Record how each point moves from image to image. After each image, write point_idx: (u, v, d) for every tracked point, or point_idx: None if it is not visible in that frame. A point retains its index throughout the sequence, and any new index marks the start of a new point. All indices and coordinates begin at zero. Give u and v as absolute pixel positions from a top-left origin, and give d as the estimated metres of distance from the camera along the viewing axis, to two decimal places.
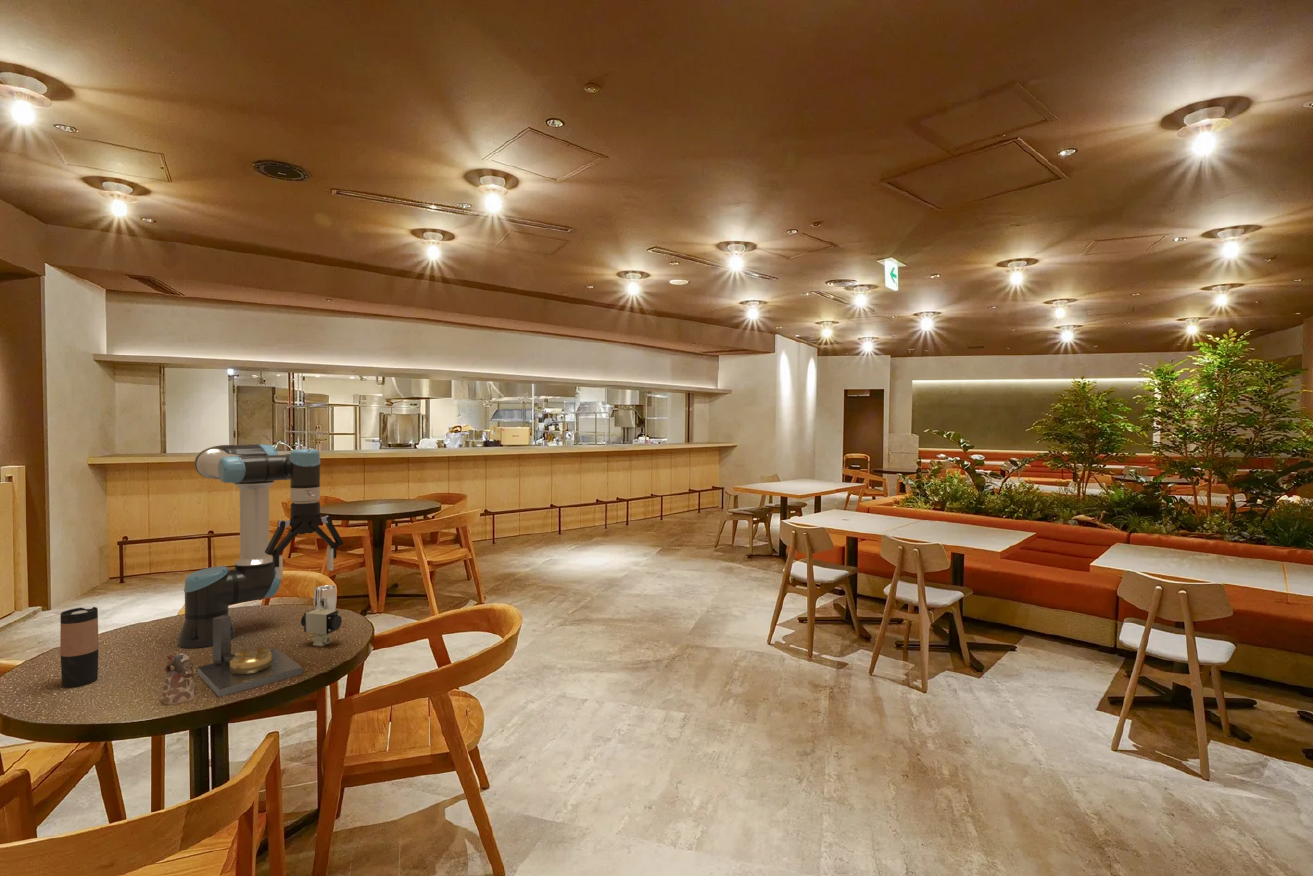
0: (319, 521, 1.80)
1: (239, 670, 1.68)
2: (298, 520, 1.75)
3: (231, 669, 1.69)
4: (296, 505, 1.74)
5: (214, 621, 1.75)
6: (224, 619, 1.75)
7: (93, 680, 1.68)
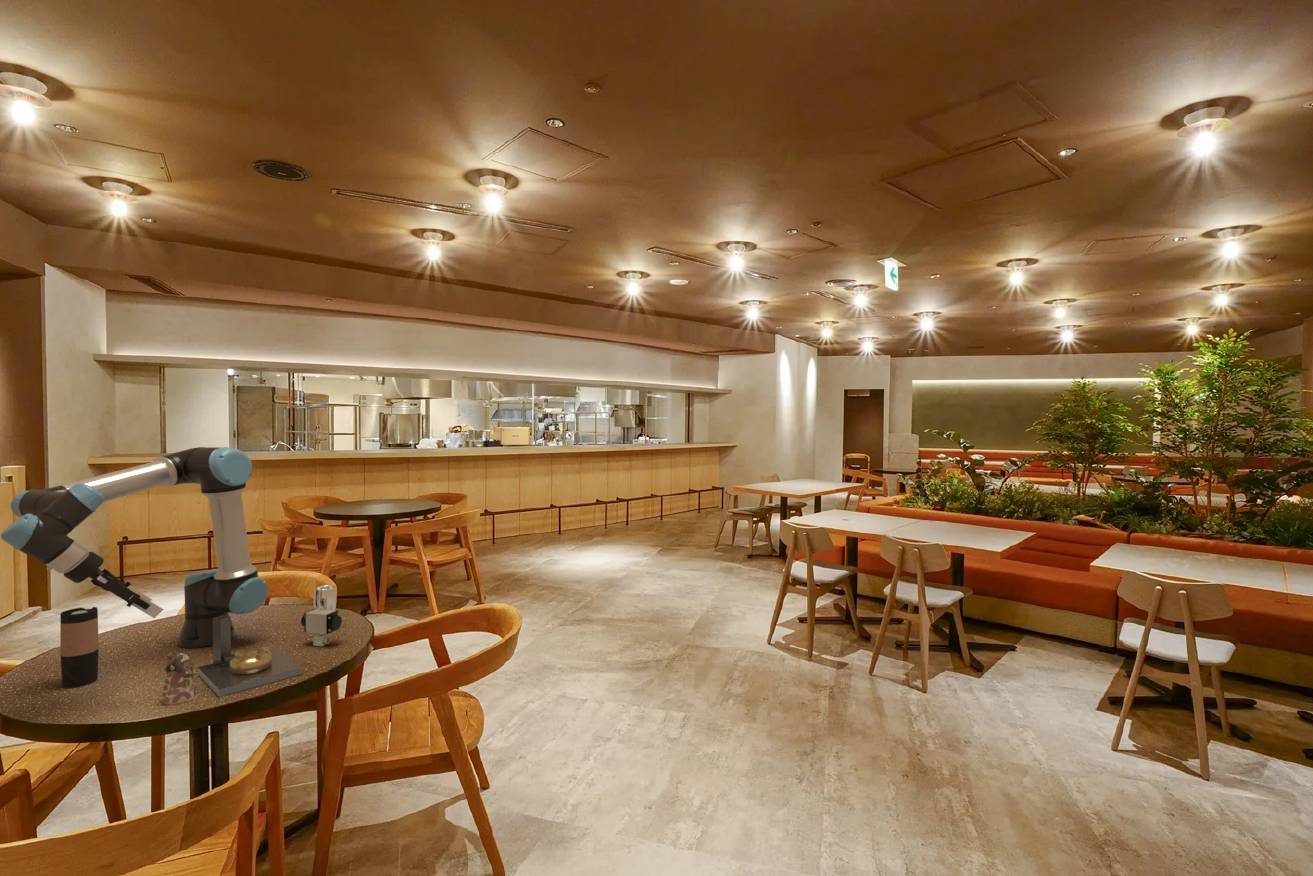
0: None
1: (239, 670, 1.68)
2: None
3: (231, 669, 1.69)
4: None
5: (214, 621, 1.75)
6: (224, 619, 1.75)
7: (93, 680, 1.68)
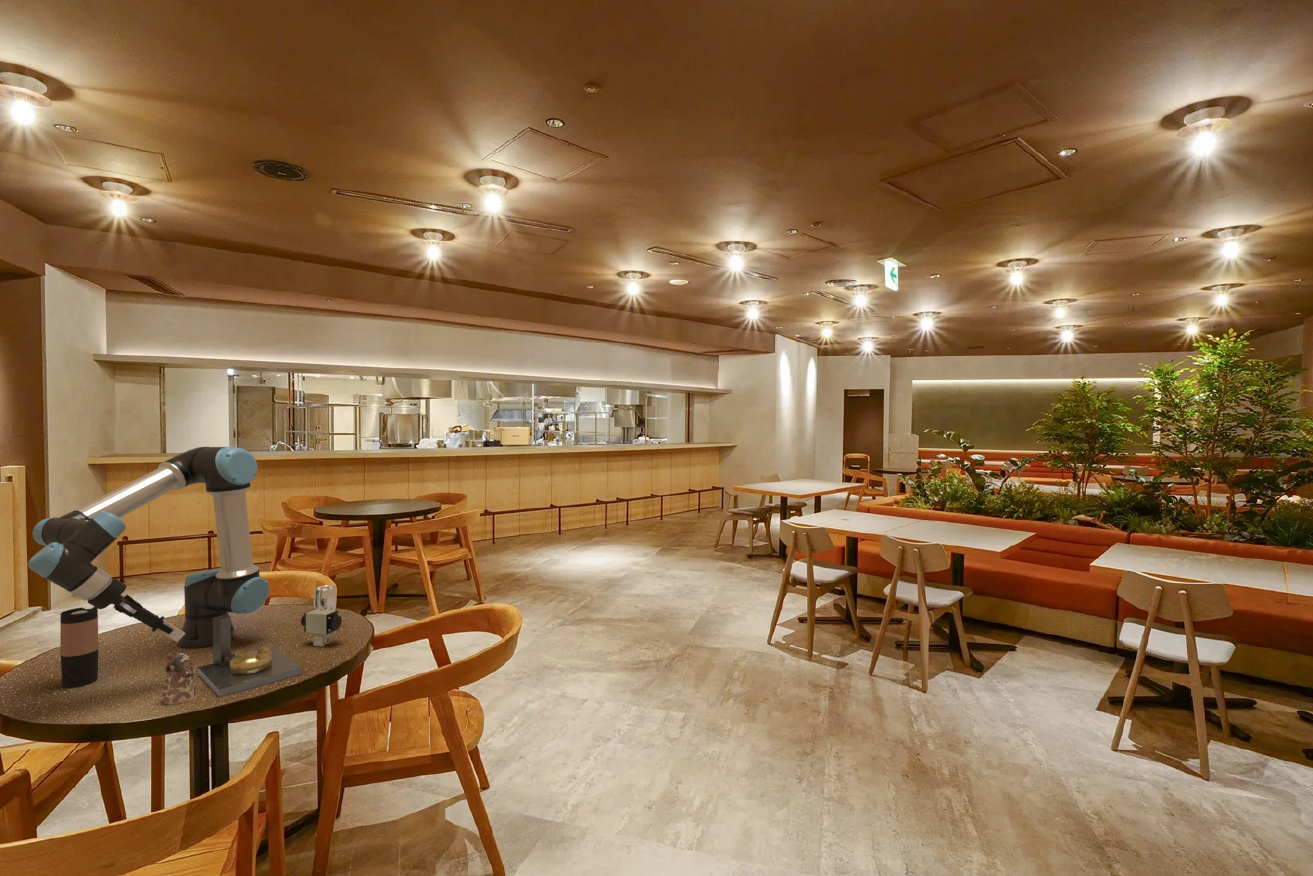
0: (120, 608, 1.57)
1: (239, 670, 1.68)
2: None
3: (231, 669, 1.69)
4: None
5: (214, 621, 1.75)
6: (224, 619, 1.75)
7: (93, 680, 1.68)
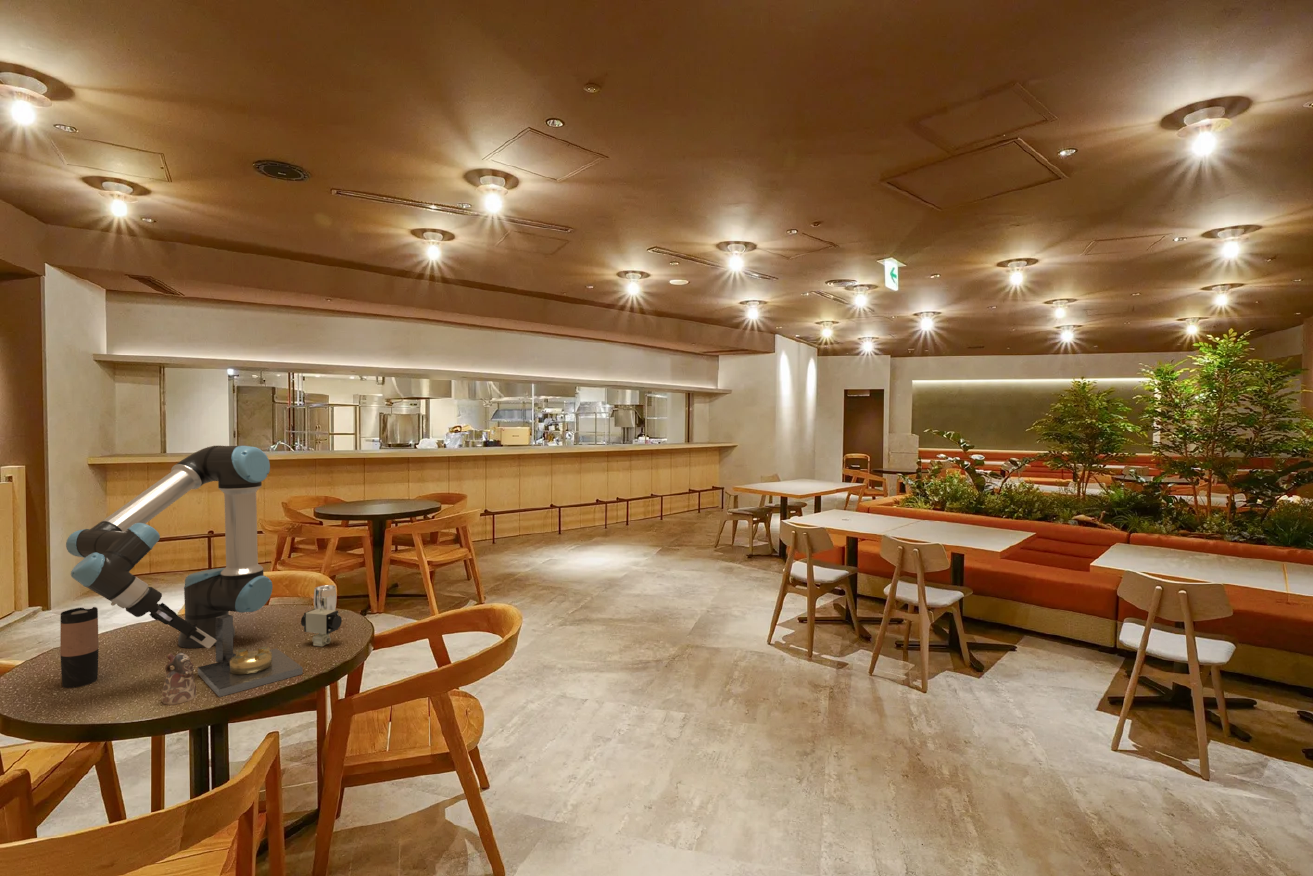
0: (156, 616, 1.62)
1: (238, 670, 1.69)
2: None
3: (231, 669, 1.70)
4: None
5: (216, 620, 1.76)
6: (226, 618, 1.76)
7: (93, 680, 1.68)
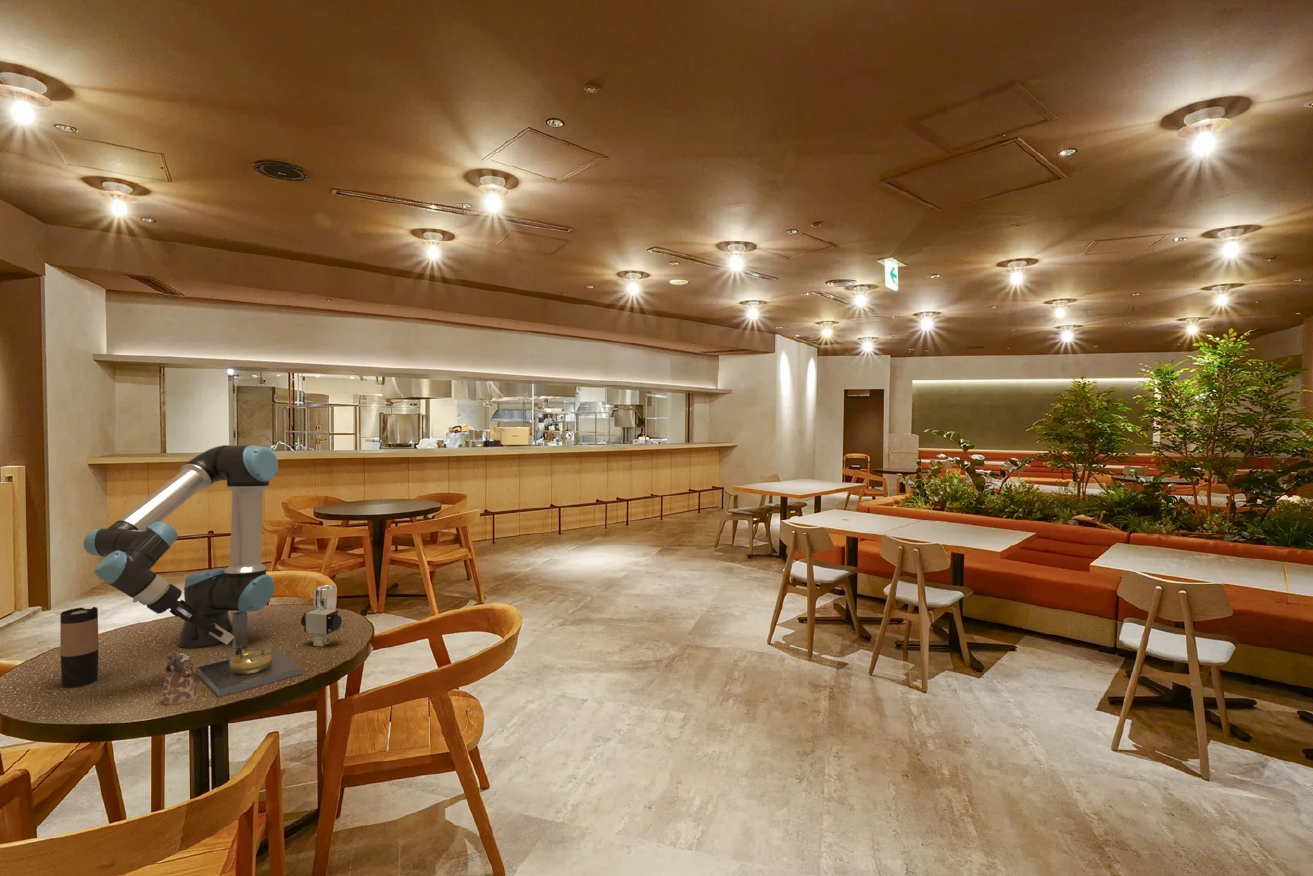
0: (177, 612, 1.66)
1: (232, 670, 1.69)
2: None
3: None
4: None
5: (233, 616, 1.80)
6: (239, 615, 1.79)
7: (93, 680, 1.68)
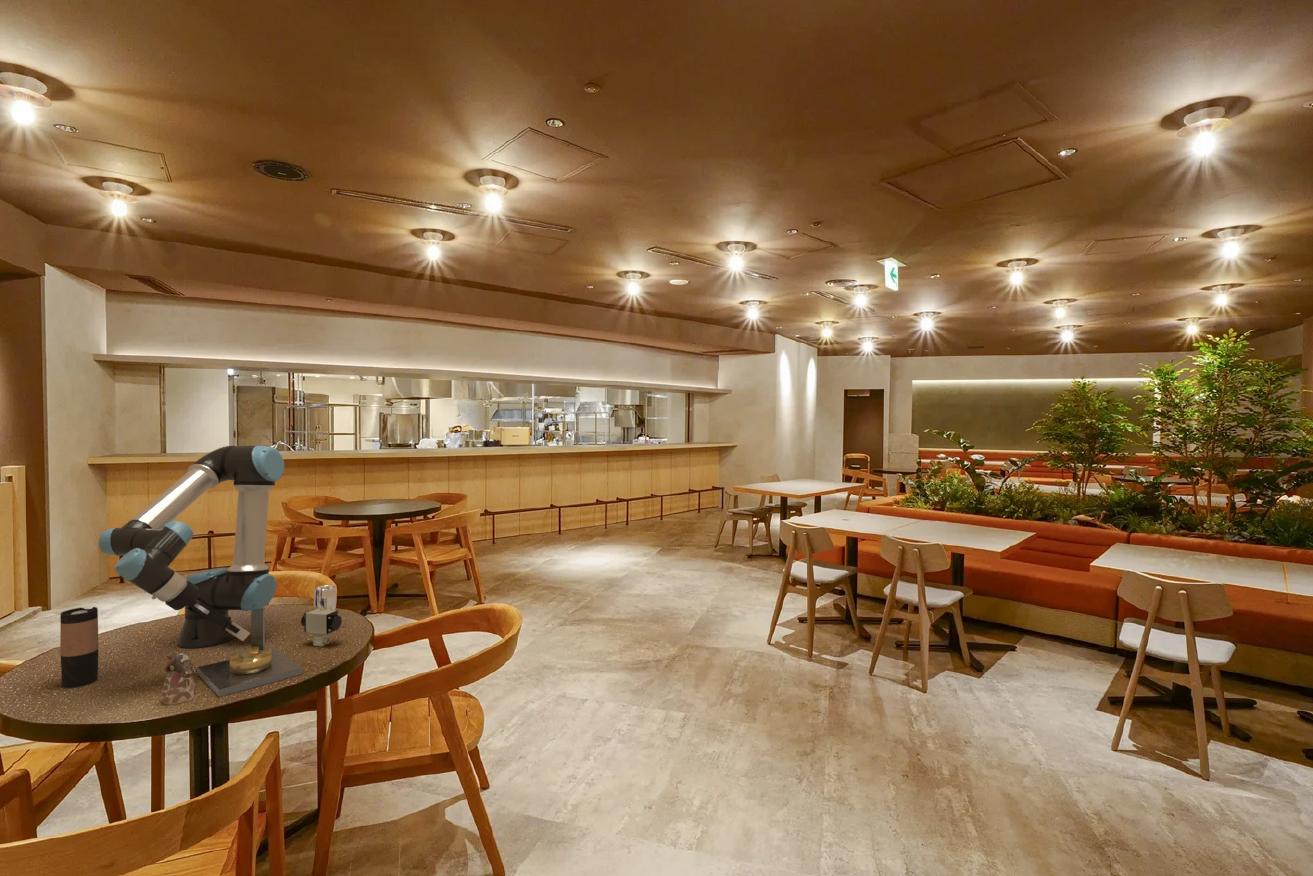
0: (194, 609, 1.69)
1: (230, 668, 1.70)
2: None
3: None
4: None
5: None
6: (255, 613, 1.82)
7: (93, 680, 1.68)
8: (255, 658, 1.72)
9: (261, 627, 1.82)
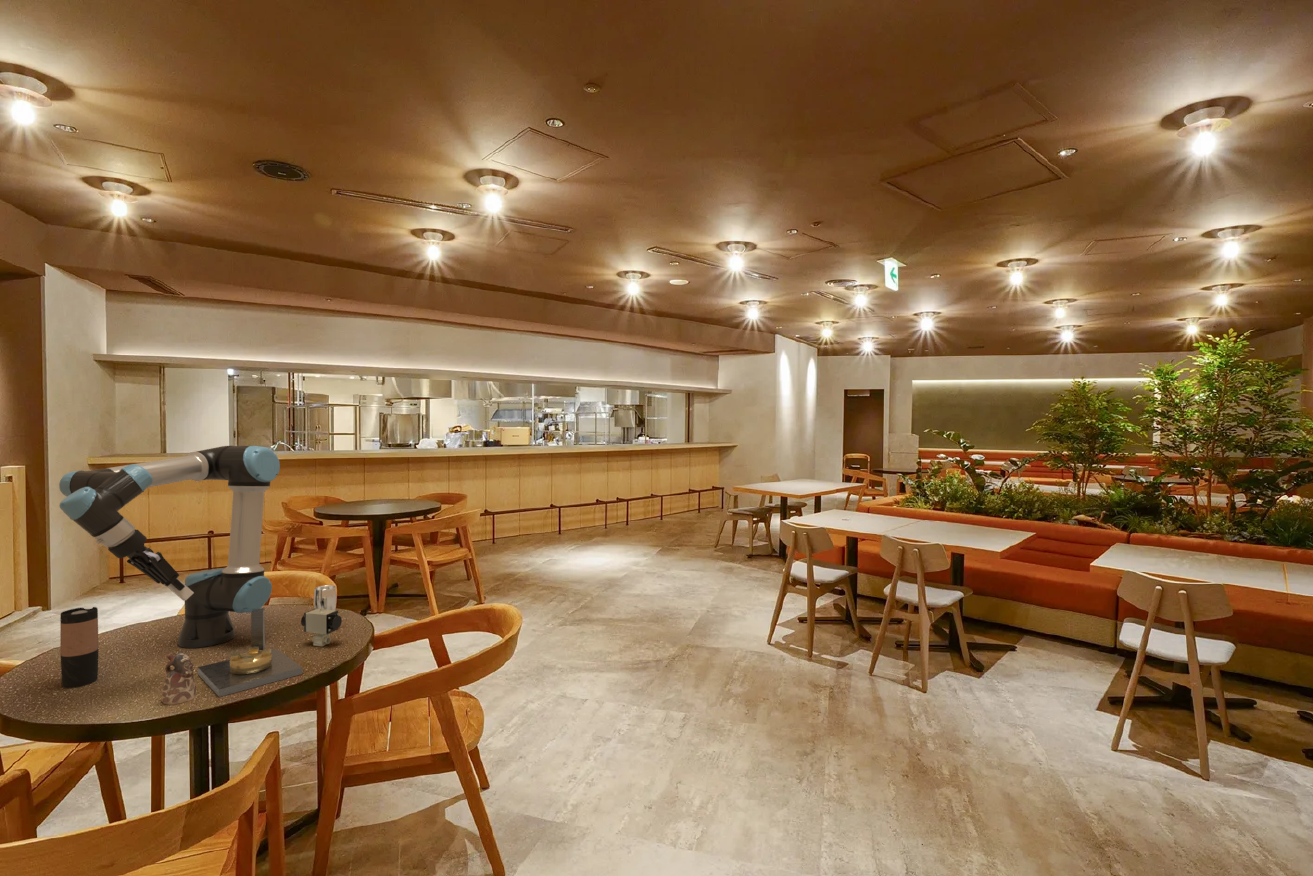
0: (143, 556, 1.61)
1: (230, 668, 1.70)
2: (128, 555, 1.62)
3: None
4: None
5: None
6: (255, 613, 1.82)
7: (93, 680, 1.68)
8: (255, 658, 1.72)
9: (261, 627, 1.82)
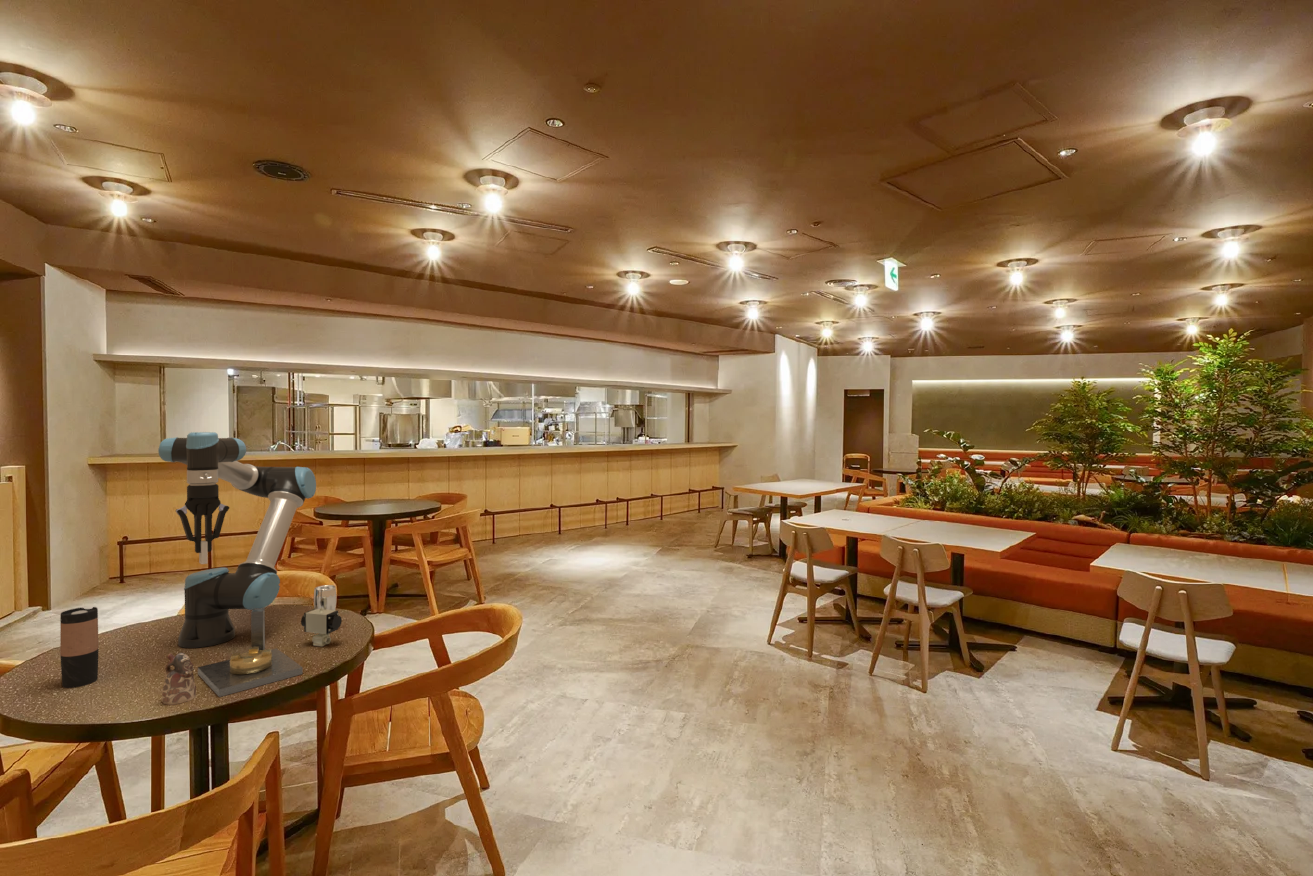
0: (217, 503, 1.82)
1: (230, 668, 1.70)
2: (194, 502, 1.77)
3: None
4: (191, 487, 1.76)
5: None
6: (255, 613, 1.82)
7: (93, 680, 1.68)
8: (255, 658, 1.72)
9: (261, 627, 1.82)
